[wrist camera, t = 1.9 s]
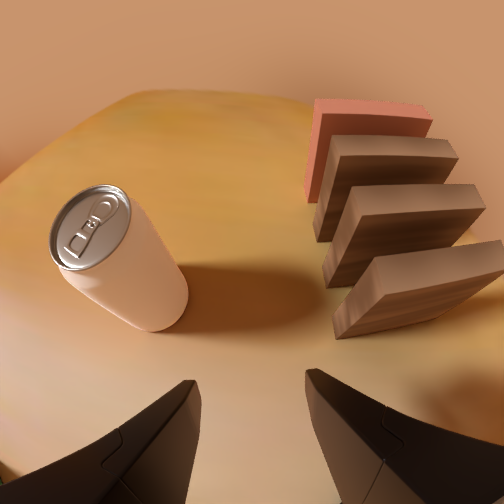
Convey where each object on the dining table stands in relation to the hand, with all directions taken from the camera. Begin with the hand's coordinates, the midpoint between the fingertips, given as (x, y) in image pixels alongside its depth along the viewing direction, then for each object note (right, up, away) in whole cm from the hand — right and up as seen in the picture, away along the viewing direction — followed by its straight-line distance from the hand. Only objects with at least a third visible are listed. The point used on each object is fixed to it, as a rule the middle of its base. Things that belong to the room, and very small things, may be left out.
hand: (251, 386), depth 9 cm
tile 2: (+11, +3, +16) cm, 20 cm away
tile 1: (+12, -1, +14) cm, 18 cm away
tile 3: (+11, +7, +18) cm, 22 cm away
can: (-9, 0, +16) cm, 18 cm away
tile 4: (+10, +11, +20) cm, 25 cm away
